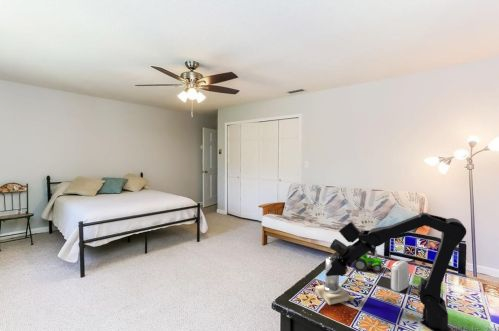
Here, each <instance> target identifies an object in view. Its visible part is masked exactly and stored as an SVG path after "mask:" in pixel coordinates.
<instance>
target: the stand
mask: <svg viewBox="0 0 499 331" xmlns="http://www.w3.org/2000/svg"><path fill="white" fill-rule="evenodd" d="M324 284H325V283H323V284H319V285H315V287H314V288H315V290H314V291H315V294H316V295H317V296H318V297H319V298H321V299H322V300H323V301H324V302H325V303H326V304H328V305H329V306H331V305H335V304H339V303H344V302H346V301H349V300H350V292H348V291H347V290H346V289H344V288H343V287H341V292H340V293H338V294H331V293H328V292H326V291H325V290H324Z"/></svg>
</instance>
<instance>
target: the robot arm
mask: <svg viewBox="0 0 499 331" xmlns="http://www.w3.org/2000/svg"><path fill="white" fill-rule="evenodd" d="M423 227H429V228H431V229H433V230H436V231H437V232H441V234H440V243H439V246H438V249H437V252H436V253H435V257H434V260H433V263H432V265H431V269H430V271H429V274H428V276H427V277H426V278H424V277H420V282H419V284H418V285H417V294H418V295H419V296H418V297H419V301H420V303H422V305H423V308H422V320H421V321H420V323H421V324H422V325H423V326H425V327H427V328H428V329H429V330H431V331H451V330H452V327H450V326H449V313H448V310H447V305H446V301H445V299H444V298H443V297H442V296H441V293H442V284H443V281H444V278H445V276H446V274H447V270H448V267H449V265H450V262H451V260H452V257H453V255H454V252H455V249H456V248H457V247H458V246H459V245H460V244H461V243H462V241H463V239H464V238H465V236H466V235H467V229H466V226H465V225H464V224H463V223H462V221H461V220H459V219H458V218H454V217H451V218H446V217H444V216H440V215H439V216H438V215H435V214H430V213H428V212H421V213H419V214H417V215H414V216H412V217H408V218H406V219H403V220H401V221H398V222H396V223H393V224H391V225H390V224H389V225H386V226H380V227H379V226H378V227H375V228H371V229H369V230H366V229H365V230H364V229H363V230H360V229H359V228H358V227H357V226H356V225H355V223H353V221H350V222H348V223H347V224H345V225H344V226H342V228H340V229H339V230H338V232H339V233H340V235H341V236H342V237H343V238H344V239H345V240H346V241H347V242H348V243H352V244H349V245H348V246H347V245H346V244H345V243H344V242H341V241H340V240H339V239H337V238H336V239H333V240H332V242H331V244H330V246H329V248H330V250H333V251H335V252H336V253H338V257H337V258H335V259H334V260H333V261H332V262H331V265H332V267H331V268H330V269H329V271H328V272H327V273H326V272H325V276H326V275H327V276H336V275H339V277H343V276H345V275H346V274H347V272H348V267H352V265H353V263H354V262H356V261H359V259H360V258H361V257H362V256H364V255H365V254H367V255H368V253H369V252H370V254H372V256H375V254H376V250H377V247H380V246H382V245H383V244H384V243H386V242H388V241H390V240H391V239H393V238H394V237H397V236H400V235H402V234H405V233H407V232H411V231H414V230H417V229H419V228H423Z"/></svg>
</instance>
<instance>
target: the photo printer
mask: <svg viewBox="0 0 499 331" xmlns="http://www.w3.org/2000/svg"><path fill="white" fill-rule="evenodd" d="M409 281H410V265H409V263H408V262H407V261H405V260H397V261H395V262H394V263H393V264H392V265H391V267H390V289H391V290H392V291H394V292H401V291H404V290H405V289H407V288H408V287H410V282H409Z"/></svg>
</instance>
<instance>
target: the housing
mask: <svg viewBox="0 0 499 331" xmlns="http://www.w3.org/2000/svg"><path fill="white" fill-rule="evenodd" d="M335 258H338V257H337V256H336V255H333V254H332V255H331V254H329V255H326V257H325V283H323V284H324V290H325V291H326V292H328V293H331V294H338V293H340V292H341V288H342V287H341V285H340V275H336V276H327V275H326V273H327V272H328V271H329V269H330V268H331V267H332V265H331V262H332V261H333V260H334V259H335Z"/></svg>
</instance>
